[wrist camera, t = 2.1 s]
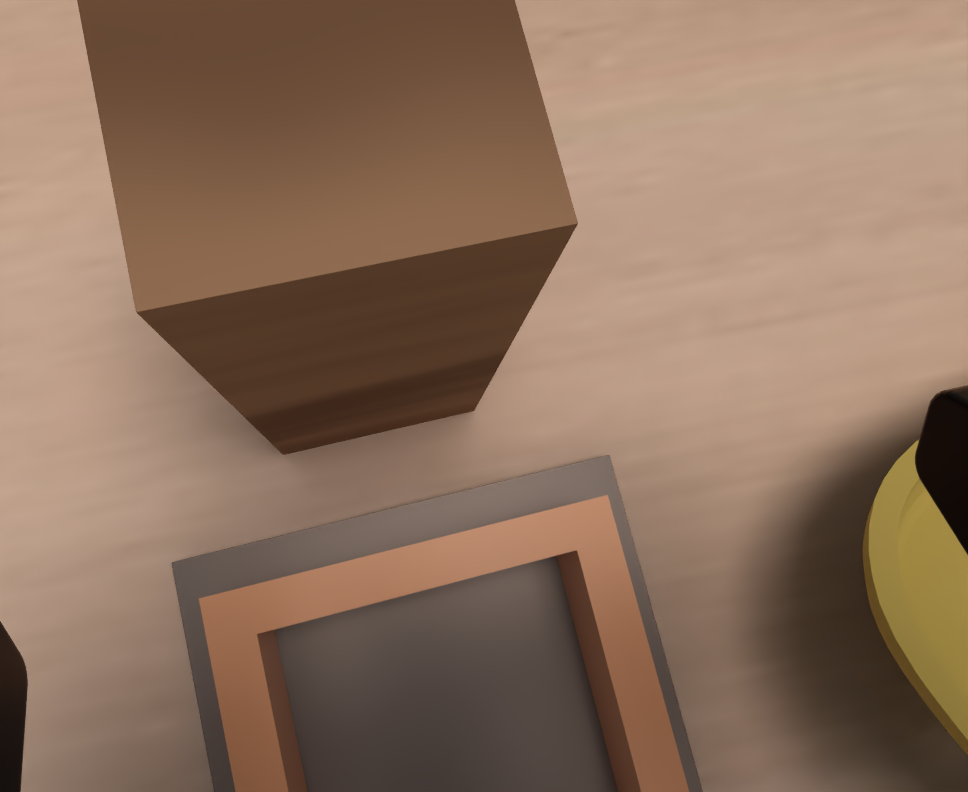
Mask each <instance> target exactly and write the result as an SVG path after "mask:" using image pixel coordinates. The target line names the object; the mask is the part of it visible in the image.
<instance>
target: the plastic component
mask: <svg viewBox="0 0 968 792" xmlns="http://www.w3.org/2000/svg"><path fill="white" fill-rule="evenodd" d="M918 442H919V440H917V441H916V442H915V443H914V444H913V445H912V446H911V447H910V448H909V449H908V450H907V451H906V452H905V453H904V454H903V455H902V456H901V457H900V458H899V459H898V460H897V461H896V462H895V464H894V465H893V467H892V468H891V469H890V471H889V472H888V474H887V475H886V477H885V478H884V480H883V482H882V484H881V486H880V488H879V490H878V492H877V495H876V497H875V499H874V502H873V504H872V506H871V509H870V512H869V515H868V519H867V522H866V526H865V532H864V539H863V566H864V575H865V582H866V588H867V594H868V599H869V603H870V607H871V610H872V613H873V616H874V618H875V621H876V624H877V626H878V629H879V631H880V633H881V635H882V637H883V639H884V641H885V643H886V645H887V647H888V649H889V650H890V652H891V654H892V655H893V657H894V658H895V660H896V662H897V663H898V665H899V666H900V668H901V670H902V671H903V673H904V674H905V676H906V677H907V678H908V680H909V681H910V682H911V684H912V685H913V687H914V688H915V689H916V691H917V692H918V694H919V695H920V696H921V698H922V699H923V701H924V702H925V703H926V705H927V706H928V707H929V708H930V710H931V711H932V712H933V713H934V715H935V716H936V717H937V718H938V720H939V721H940V722H941V723H942V725H943V726H944V728H945V730H946V731H948V732H949V733H950V735H951V736H952V737H953V738H954V740H955V741H956V742H957V743H958V745H959V746H960V747H961V748H962V749H963V751H964V752H965V753H966V754H967V755H968V555H967V553H966V552H965V550H964V549H963V547H962V545H961V544H960V542H959V541H958V539H957V537H956V536H955V534H954V533H953V531H952V529H951V528H950V526H949V525H948V523H947V522H946V520H945V518H944V517H943V515H942V514H941V512H940V510H939V509H938V507H937V506H936V504H935V502H934V501H933V499H932V498H931V496H930V495H929V493H928V491H927V490H926V488H925V487H924V485H923V483H922V482H921V480H920V478H919V476H918V473H917V471H916V466H915V453H916V449H917V445H918Z"/></svg>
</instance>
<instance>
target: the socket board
mask: <svg viewBox="0 0 968 792" xmlns="http://www.w3.org/2000/svg"><path fill="white" fill-rule="evenodd" d="M172 568H173V573H174V578H175V584H176V589H177V594H178V600H179V605H180V610H181V616H182V621H183V626H184V632H185V637H186V643H187V648H188V653H189V659H190V664H191V669H192V675H193V680H194V685H195V691H196V696H197V701H198V707H199V712H200V718H201V723H202V728H203V734H204V739H205V744H206V750H207V755H208V760H209V766H210V771H211V776H212V782H213V787H214V792H703V791H702V787H701V784H700V780H699V777H698V773H697V769H696V766H695V762H694V758H693V755H692V751H691V748H690V744H689V740H688V737H687V733H686V730H685V726H684V722H683V719H682V715H681V712H680V708H679V704H678V701H677V697H676V694H675V690H674V686H673V683H672V679H671V675H670V672H669V668H668V665H667V661H666V657H665V654H664V650H663V647H662V643H661V639H660V636H659V632H658V629H657V625H656V621H655V618H654V614H653V611H652V607H651V603H650V600H649V596H648V592H647V589H646V585H645V582H644V578H643V574H642V571H641V567H640V564H639V560H638V556H637V553H636V549H635V546H634V542H633V538H632V535H631V531H630V528H629V524H628V520H627V517H626V513H625V509H624V506H623V502H622V499H621V495H620V491H619V488H618V484H617V481H616V477H615V473H614V470H613V466H612V463H611V459H610V455H606V456H602V457H598V458H594V459H590V460H586V461H582V462H578V463H574V464H570V465H566V466H562V467H558V468H554V469H550V470H545V471H541V472H537V473H533V474H529V475H525V476H521V477H517V478H513V479H509V480H505V481H501V482H497V483H493V484H489V485H485V486H480V487H476V488H472V489H468V490H464V491H460V492H456V493H452V494H448V495H444V496H440V497H436V498H432V499H428V500H424V501H419V502H415V503H411V504H407V505H403V506H399V507H395V508H391V509H387V510H383V511H379V512H375V513H371V514H367V515H363V516H359V517H354V518H350V519H346V520H342V521H338V522H334V523H330V524H326V525H322V526H318V527H314V528H310V529H306V530H302V531H298V532H293V533H289V534H285V535H281V536H277V537H273V538H269V539H265V540H261V541H257V542H253V543H249V544H245V545H241V546H237V547H233V548H228V549H224V550H220V551H216V552H212V553H208V554H204V555H200V556H196V557H192V558H188V559H184V560H180V561H176V562H172Z"/></svg>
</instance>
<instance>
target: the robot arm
mask: <svg viewBox="0 0 968 792" xmlns="http://www.w3.org/2000/svg"><path fill="white" fill-rule="evenodd" d="M915 466H916V471H917V473H918V476H919V478H920V480H921V482H922V483H923V485H924V487H925V488H926V490H927V491H928V493H929V495H930V496H931V498H932V499H933V501H934V502H935V504H936V506H937V507H938V509H939V510H940V512H941V514H942V515H943V517H944V518H945V520H946V522H947V523H948V525H949V526H950V528H951V529H952V531H953V533H954V534H955V536H956V537H957V539H958V541H959V542H960V544H961V545H962V547H963V549H964V550H965V552H966V553H967V555H968V385H967V386H963V387H958V388H953V389H949V390H944V391H941V392H939V393H937V394H936V395H935V396H934V397H933V399H932V400H931V401H930V404H929V407H928V410H927V414H926V417H925V421H924V424H923V428H922V431H921V435H920V438H919V442H918V445H917V449H916V453H915ZM27 685H28V680H27V671H26V666H25V663H24V660H23V658H22V656H21V654H20V652H19V651H18V649H17V647H16V646H15V644H14V643H13V641H12V639H11V638H10V636H9V634H8V633H7V631H6V630H5V628H4V626H3V625H2V623H1V621H0V792H20V791H21V776H22V761H23V746H24V731H25V716H26V701H27Z"/></svg>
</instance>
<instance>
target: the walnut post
mask: <svg viewBox="0 0 968 792" xmlns="http://www.w3.org/2000/svg"><path fill="white" fill-rule="evenodd" d="M77 1H78V7H79V12H80V17H81V23H82V28H83V33H84V39H85V44H86V49H87V54H88V60H89V65H90V70H91V76H92V81H93V86H94V91H95V97H96V102H97V107H98V113H99V118H100V123H101V129H102V134H103V139H104V144H105V150H106V155H107V160H108V166H109V171H110V176H111V182H112V187H113V192H114V197H115V203H116V208H117V213H118V219H119V224H120V229H121V234H122V240H123V245H124V250H125V256H126V261H127V266H128V272H129V277H130V282H131V287H132V293H133V298H134V303H135V309H136V312H137V313H138V314H139V315H140V316H141V317H142V318H143V319H144V320H145V321H146V322H147V323H148V324H149V325H150V326H151V327H152V328H153V329H154V330H155V331H156V332H157V333H158V334H159V335H160V336H161V337H162V338H163V339H164V340H165V341H166V342H168V343H169V344H170V345H171V346H172V347H173V348H174V349H175V350H176V351H177V352H178V353H179V354H180V355H181V356H182V357H183V358H184V359H185V360H186V361H187V362H188V363H189V364H190V365H191V366H192V367H193V368H194V369H195V370H196V371H197V372H198V373H199V374H201V375H202V376H203V377H204V378H205V379H206V380H207V381H208V382H209V383H210V384H211V385H212V386H213V387H214V388H215V389H216V390H217V391H218V392H219V393H220V394H221V395H222V396H223V397H224V398H225V399H226V400H227V401H228V402H229V403H230V404H231V405H233V406H234V407H235V408H236V409H237V410H238V411H239V412H240V413H241V414H242V415H243V416H244V417H245V418H246V419H247V420H248V421H249V422H250V423H251V424H252V425H253V426H254V427H255V428H256V429H257V430H258V431H259V432H260V433H261V434H262V435H263V436H265V437H266V438H267V439H268V440H269V441H270V442H271V443H272V444H273V445H274V446H275V447H276V448H277V449H278V450H279V451H280V452H281V453H282V454H283V455H285V454H289V453H293V452H297V451H302V450H306V449H310V448H315V447H319V446H323V445H328V444H332V443H336V442H341V441H345V440H349V439H354V438H358V437H362V436H367V435H371V434H375V433H380V432H384V431H388V430H392V429H397V428H401V427H405V426H410V425H414V424H418V423H423V422H427V421H431V420H436V419H440V418H444V417H449V416H453V415H457V414H462V413H466V412H470V411H474V410H475V408H476V406H477V405H478V403H479V401H480V399H481V397H482V396H483V394H484V392H485V390H486V388H487V386H488V385H489V383H490V381H491V379H492V377H493V376H494V374H495V372H496V370H497V368H498V367H499V365H500V363H501V361H502V359H503V358H504V356H505V354H506V352H507V350H508V349H509V347H510V345H511V343H512V341H513V340H514V338H515V336H516V334H517V332H518V331H519V329H520V327H521V325H522V323H523V322H524V320H525V318H526V316H527V314H528V313H529V311H530V309H531V307H532V305H533V304H534V302H535V300H536V298H537V296H538V295H539V293H540V291H541V289H542V287H543V286H544V284H545V282H546V280H547V278H548V276H549V275H550V273H551V271H552V269H553V267H554V266H555V264H556V262H557V260H558V258H559V257H560V255H561V253H562V251H563V249H564V248H565V246H566V244H567V242H568V240H569V239H570V237H571V235H572V233H573V231H574V230H575V228H576V226H577V224H578V222H577V219H576V215H575V211H574V208H573V204H572V201H571V197H570V194H569V190H568V187H567V183H566V180H565V176H564V173H563V169H562V166H561V162H560V159H559V155H558V152H557V148H556V145H555V141H554V138H553V134H552V130H551V127H550V123H549V120H548V116H547V113H546V109H545V106H544V102H543V99H542V95H541V92H540V88H539V85H538V81H537V78H536V74H535V71H534V67H533V64H532V60H531V57H530V53H529V49H528V46H527V42H526V39H525V35H524V32H523V28H522V25H521V21H520V18H519V14H518V11H517V7H516V4H515V0H77Z"/></svg>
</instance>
